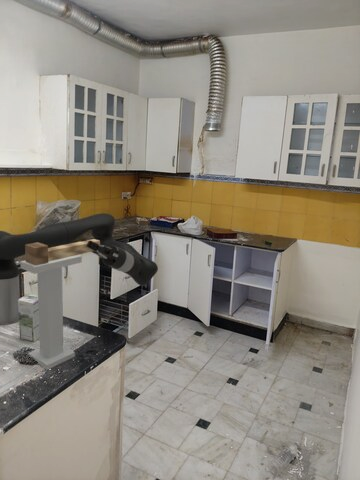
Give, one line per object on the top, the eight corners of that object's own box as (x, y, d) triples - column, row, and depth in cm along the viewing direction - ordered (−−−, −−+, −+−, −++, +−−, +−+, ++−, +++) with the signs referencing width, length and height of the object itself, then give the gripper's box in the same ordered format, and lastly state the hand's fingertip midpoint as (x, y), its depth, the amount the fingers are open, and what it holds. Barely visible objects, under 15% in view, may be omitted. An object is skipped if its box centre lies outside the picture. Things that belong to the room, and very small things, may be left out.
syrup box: (44, 334, 133) (43, 295, 129) (33, 342, 127) (32, 302, 124) (30, 331, 134) (28, 293, 131) (19, 339, 129) (17, 299, 125)
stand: (66, 341, 129) (64, 250, 122) (85, 351, 124) (84, 257, 116) (22, 359, 117) (17, 260, 109) (41, 372, 111) (37, 268, 104)
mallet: (91, 247, 127) (91, 232, 126) (101, 250, 124) (102, 235, 123) (25, 261, 109) (25, 244, 107) (35, 265, 106) (35, 248, 105)
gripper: (128, 273, 130) (94, 258, 117) (101, 264, 138) (66, 248, 125) (136, 253, 132) (104, 235, 118) (109, 245, 140) (75, 227, 126)
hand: (84, 242), depth 121 cm, fingers closed on mallet, 3 cm apart
